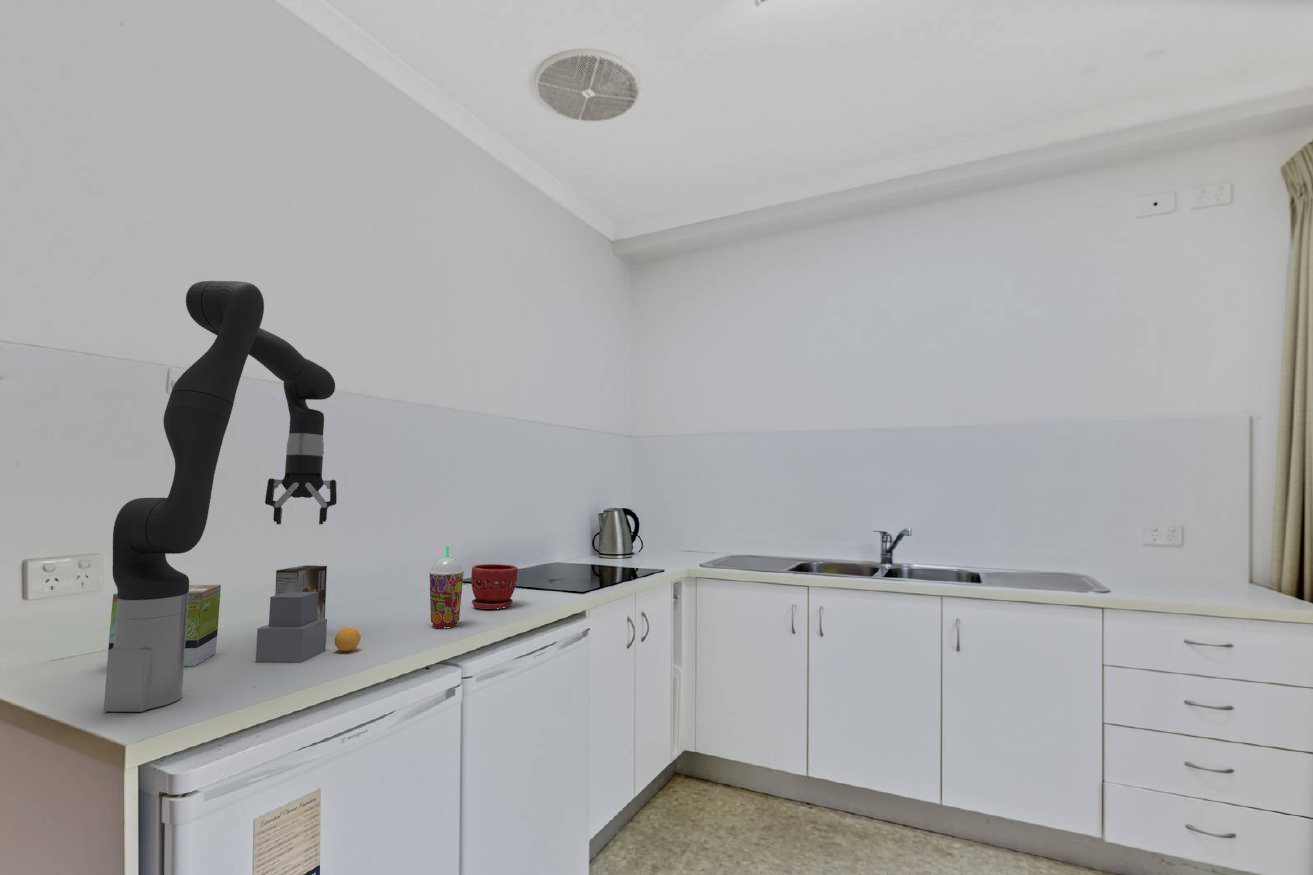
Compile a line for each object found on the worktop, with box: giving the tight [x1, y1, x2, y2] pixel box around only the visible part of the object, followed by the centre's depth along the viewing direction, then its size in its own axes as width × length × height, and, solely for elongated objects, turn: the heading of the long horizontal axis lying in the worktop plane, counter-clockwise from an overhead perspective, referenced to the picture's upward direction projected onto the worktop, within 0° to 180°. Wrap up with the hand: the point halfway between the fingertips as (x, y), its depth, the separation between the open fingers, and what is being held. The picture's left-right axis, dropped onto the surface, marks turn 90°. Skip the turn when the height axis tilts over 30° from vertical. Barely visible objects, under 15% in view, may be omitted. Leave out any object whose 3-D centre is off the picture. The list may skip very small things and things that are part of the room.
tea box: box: [107, 584, 222, 668], centre depth 125 cm, size 15×10×15 cm, turn 105°
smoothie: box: [428, 545, 465, 629], centre depth 158 cm, size 8×8×20 cm
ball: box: [334, 626, 361, 652], centre depth 134 cm, size 5×5×5 cm
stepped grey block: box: [255, 592, 328, 663], centre depth 130 cm, size 9×9×13 cm
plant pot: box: [470, 563, 518, 610], centre depth 183 cm, size 13×13×12 cm
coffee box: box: [274, 564, 328, 619], centre depth 146 cm, size 9×6×16 cm
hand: (300, 524), depth 143 cm, fingers open, 8 cm apart
